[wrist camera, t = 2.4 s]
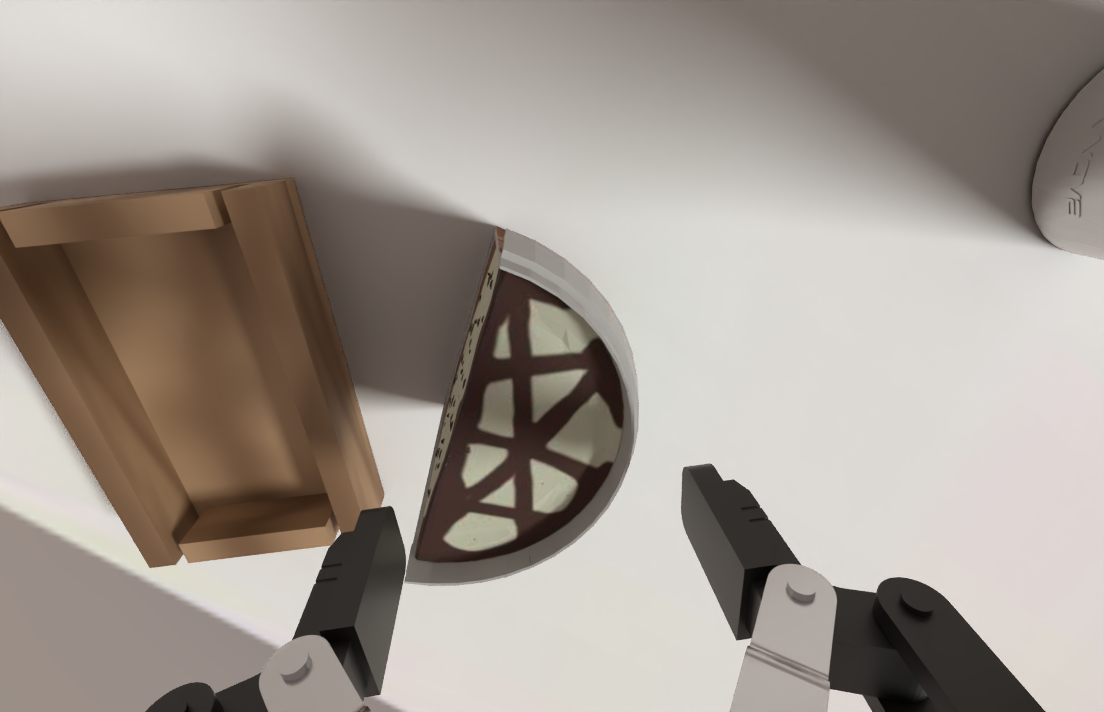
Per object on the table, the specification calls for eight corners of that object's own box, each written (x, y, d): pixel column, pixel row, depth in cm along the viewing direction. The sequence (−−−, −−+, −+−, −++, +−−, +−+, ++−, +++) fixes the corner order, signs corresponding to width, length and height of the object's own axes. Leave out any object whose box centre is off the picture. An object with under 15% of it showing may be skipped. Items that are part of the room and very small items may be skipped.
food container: (549, 454, 27) (571, 621, 18) (436, 428, 26) (400, 594, 17) (637, 236, 22) (726, 314, 13) (505, 192, 21) (506, 244, 12)
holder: (293, 178, 20) (256, 188, 17) (384, 494, 27) (370, 540, 24) (25, 202, 20) (-60, 217, 17) (189, 518, 27) (149, 567, 24)
